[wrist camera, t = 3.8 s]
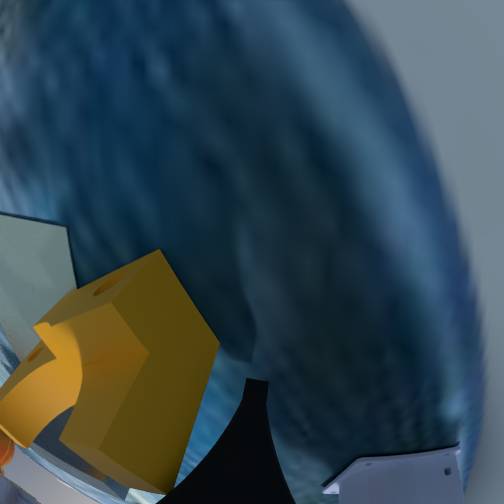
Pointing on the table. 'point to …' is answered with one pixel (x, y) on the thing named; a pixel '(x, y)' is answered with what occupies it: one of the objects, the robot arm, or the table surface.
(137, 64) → the table surface
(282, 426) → the table surface
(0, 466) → the pumpkin
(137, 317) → the pipe clamp
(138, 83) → the table surface
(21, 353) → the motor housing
